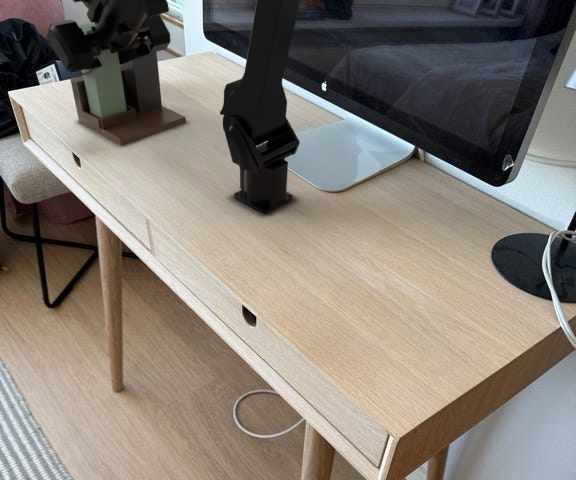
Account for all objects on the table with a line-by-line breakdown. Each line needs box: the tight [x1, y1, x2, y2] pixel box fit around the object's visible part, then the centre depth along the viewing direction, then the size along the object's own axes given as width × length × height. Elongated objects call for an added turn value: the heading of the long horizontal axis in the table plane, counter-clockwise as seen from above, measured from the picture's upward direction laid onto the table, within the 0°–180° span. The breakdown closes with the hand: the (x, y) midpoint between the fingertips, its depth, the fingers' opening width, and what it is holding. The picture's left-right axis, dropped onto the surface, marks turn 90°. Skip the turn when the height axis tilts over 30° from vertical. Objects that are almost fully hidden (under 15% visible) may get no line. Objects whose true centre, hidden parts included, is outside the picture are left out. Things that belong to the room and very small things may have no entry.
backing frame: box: [69, 37, 187, 146], centre depth 95 cm, size 12×14×14 cm
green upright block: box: [77, 22, 127, 119], centre depth 92 cm, size 4×5×13 cm
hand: (96, 68), depth 93 cm, fingers closed on green upright block, 5 cm apart
